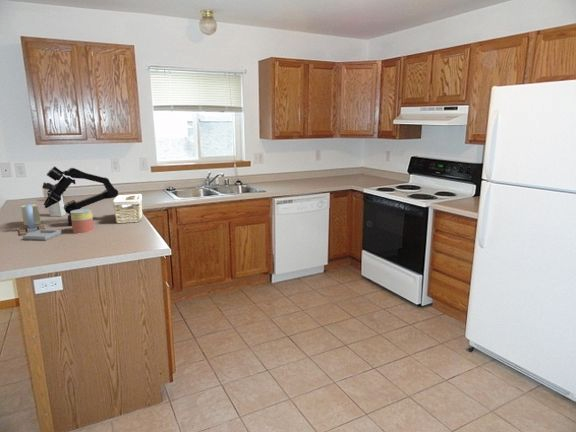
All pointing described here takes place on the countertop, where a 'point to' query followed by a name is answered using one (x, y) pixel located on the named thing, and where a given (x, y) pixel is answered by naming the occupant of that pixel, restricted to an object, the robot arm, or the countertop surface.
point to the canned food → (82, 220)
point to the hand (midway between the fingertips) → (44, 206)
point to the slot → (23, 230)
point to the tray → (42, 235)
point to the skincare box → (57, 208)
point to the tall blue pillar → (30, 219)
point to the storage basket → (128, 208)
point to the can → (35, 212)
